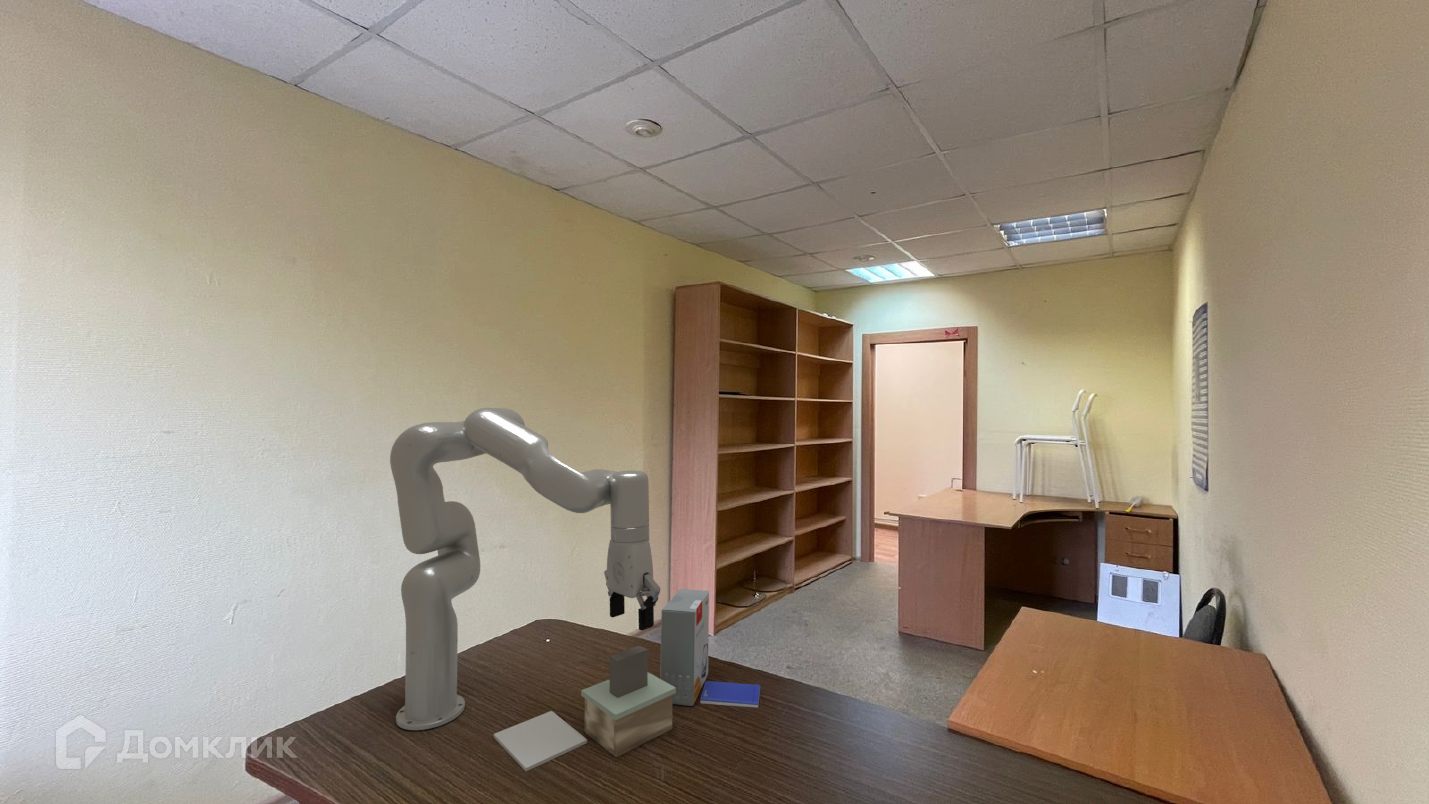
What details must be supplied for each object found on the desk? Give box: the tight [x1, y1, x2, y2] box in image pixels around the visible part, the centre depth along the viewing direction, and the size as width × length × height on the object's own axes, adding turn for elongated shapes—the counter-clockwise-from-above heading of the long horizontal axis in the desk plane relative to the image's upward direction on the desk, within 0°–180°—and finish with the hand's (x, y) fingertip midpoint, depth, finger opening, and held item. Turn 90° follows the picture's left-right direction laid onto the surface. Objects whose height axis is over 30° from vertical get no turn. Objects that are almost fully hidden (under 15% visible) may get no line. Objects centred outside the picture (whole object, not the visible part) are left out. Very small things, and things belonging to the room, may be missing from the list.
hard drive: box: [699, 680, 761, 709], centre depth 120 cm, size 2×8×12 cm
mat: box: [493, 710, 588, 772], centre depth 104 cm, size 14×12×1 cm
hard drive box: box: [659, 588, 710, 707], centre depth 124 cm, size 16×8×20 cm, turn 168°
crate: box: [584, 695, 673, 758], centre depth 107 cm, size 11×13×7 cm
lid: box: [580, 645, 676, 720], centre depth 107 cm, size 12×14×9 cm
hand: (631, 621), depth 107 cm, fingers open, 9 cm apart
